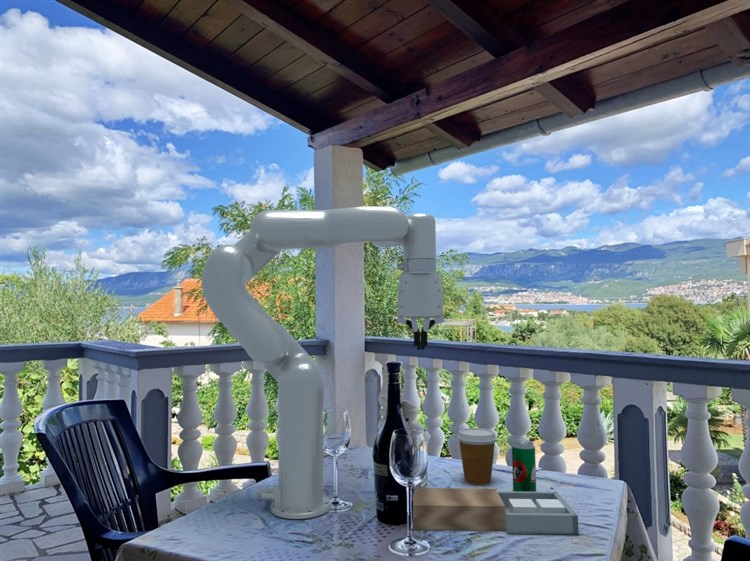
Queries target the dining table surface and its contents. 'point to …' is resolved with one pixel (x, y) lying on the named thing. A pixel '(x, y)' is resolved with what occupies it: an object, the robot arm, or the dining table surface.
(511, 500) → the tile
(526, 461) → the soda can
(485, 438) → the disposable coffee cup
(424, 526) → the wooden base board
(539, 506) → the tile
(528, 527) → the tray
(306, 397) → the robot arm
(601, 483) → the dining table surface
